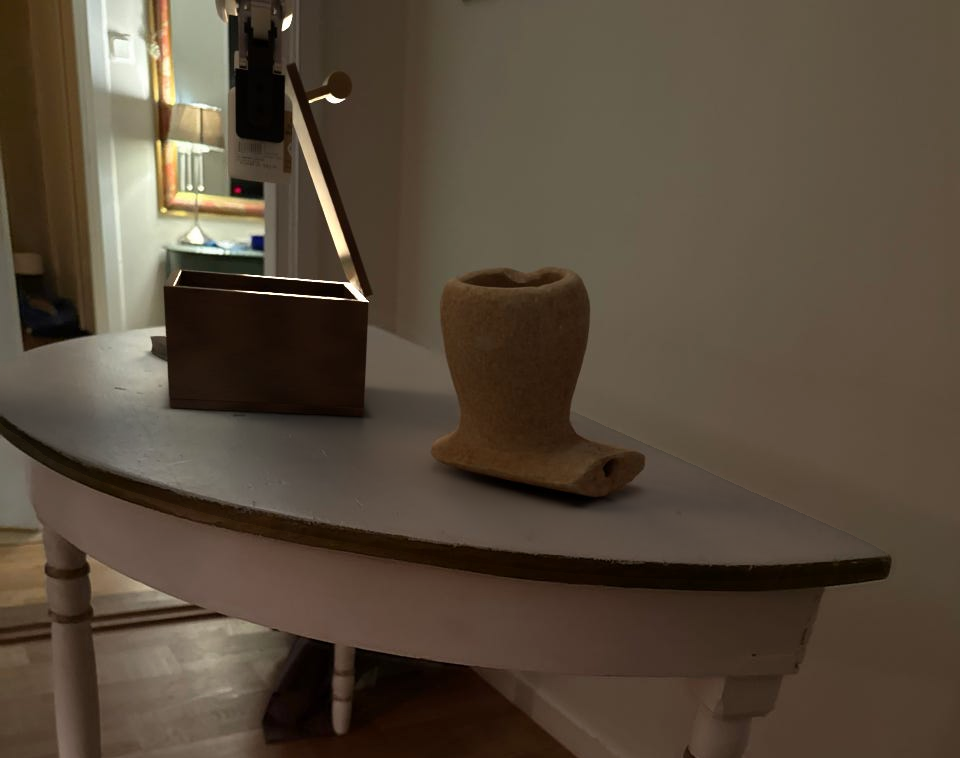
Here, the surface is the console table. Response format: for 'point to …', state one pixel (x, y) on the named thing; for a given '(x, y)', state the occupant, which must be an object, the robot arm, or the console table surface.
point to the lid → (326, 166)
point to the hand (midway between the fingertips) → (259, 138)
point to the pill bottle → (259, 146)
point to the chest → (265, 344)
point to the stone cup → (523, 382)
